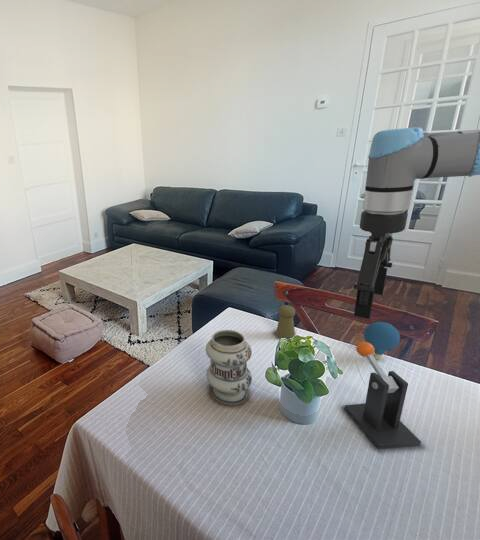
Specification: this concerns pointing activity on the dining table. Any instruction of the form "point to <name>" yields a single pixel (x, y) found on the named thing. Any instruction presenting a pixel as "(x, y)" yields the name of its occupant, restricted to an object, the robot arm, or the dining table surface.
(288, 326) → the cork
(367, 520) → the dining table surface
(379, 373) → the switch lever
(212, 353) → the apothecary jar
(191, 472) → the dining table surface
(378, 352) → the light bulb
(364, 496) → the dining table surface
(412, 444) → the switch bracket
